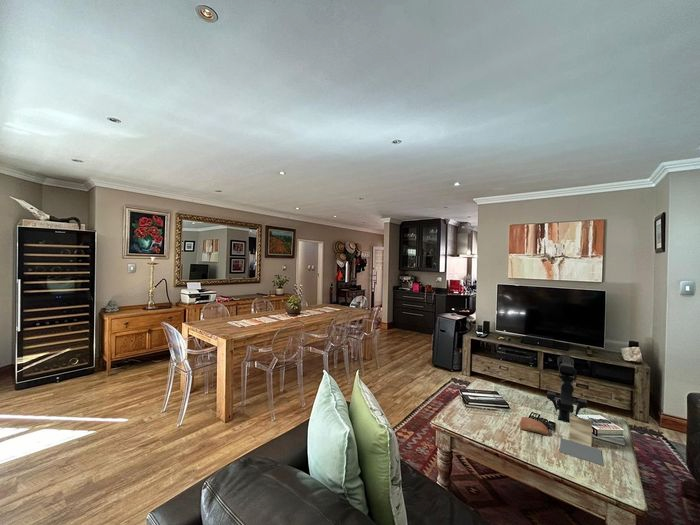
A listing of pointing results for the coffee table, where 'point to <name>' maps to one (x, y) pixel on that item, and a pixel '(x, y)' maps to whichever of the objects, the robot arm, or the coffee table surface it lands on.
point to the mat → (581, 451)
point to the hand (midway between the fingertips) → (566, 413)
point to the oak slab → (580, 430)
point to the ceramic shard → (533, 426)
